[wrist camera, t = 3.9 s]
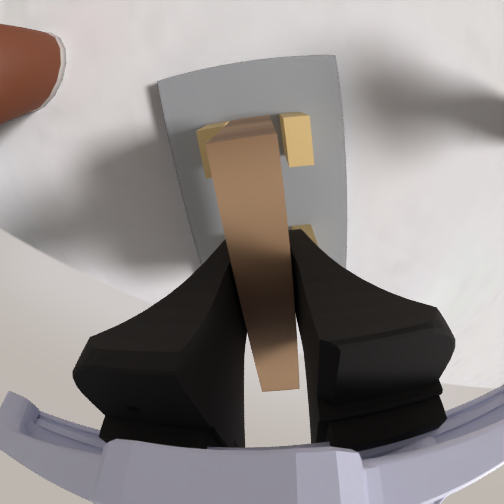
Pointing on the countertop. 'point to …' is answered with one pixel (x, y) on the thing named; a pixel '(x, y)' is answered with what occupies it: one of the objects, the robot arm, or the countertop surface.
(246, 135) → the door panel
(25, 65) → the coffee cup
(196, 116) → the hinge board
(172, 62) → the countertop surface
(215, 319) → the robot arm
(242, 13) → the countertop surface
